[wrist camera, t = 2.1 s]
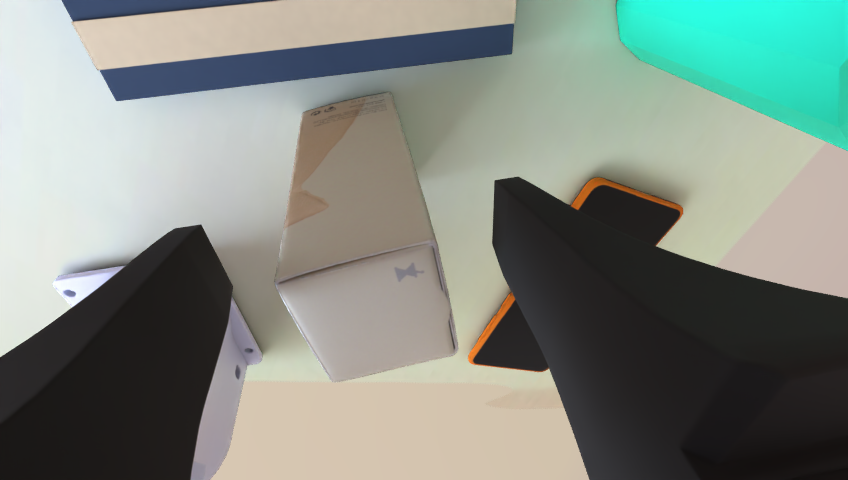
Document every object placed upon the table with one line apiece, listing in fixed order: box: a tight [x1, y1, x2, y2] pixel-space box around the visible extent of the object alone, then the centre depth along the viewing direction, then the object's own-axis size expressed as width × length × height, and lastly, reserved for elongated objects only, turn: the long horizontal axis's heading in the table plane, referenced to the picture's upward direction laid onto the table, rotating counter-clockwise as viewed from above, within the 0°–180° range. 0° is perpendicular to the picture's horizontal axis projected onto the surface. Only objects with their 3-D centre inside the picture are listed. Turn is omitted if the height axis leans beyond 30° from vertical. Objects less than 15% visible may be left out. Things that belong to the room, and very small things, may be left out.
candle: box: [616, 0, 848, 151], centre depth 13 cm, size 6×6×12 cm
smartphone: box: [468, 177, 683, 372], centre depth 28 cm, size 8×17×1 cm, turn 157°
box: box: [274, 92, 458, 382], centre depth 16 cm, size 5×4×11 cm
